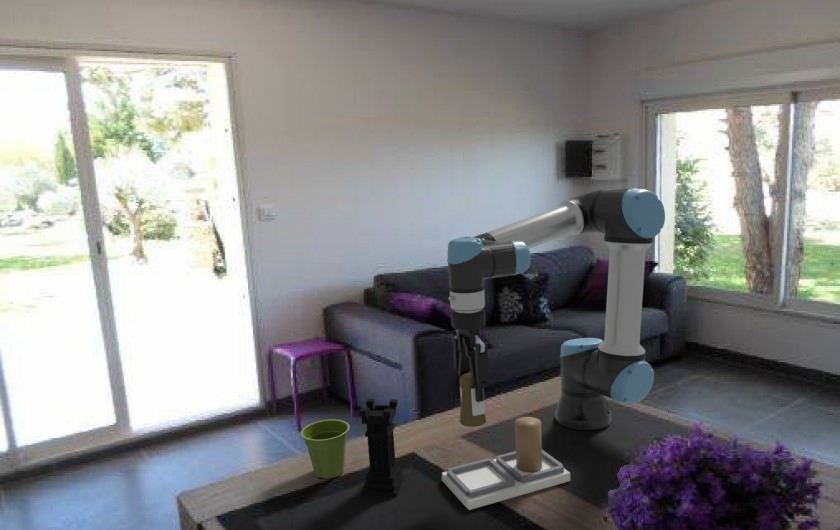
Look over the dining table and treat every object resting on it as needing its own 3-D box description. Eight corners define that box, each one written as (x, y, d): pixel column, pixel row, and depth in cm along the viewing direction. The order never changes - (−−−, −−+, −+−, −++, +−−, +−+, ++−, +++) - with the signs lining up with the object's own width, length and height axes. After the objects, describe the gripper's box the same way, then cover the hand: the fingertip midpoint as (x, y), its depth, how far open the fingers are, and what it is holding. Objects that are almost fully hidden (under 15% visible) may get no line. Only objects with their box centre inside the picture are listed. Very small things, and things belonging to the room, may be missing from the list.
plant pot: (333, 456, 160) (330, 415, 158) (362, 470, 151) (359, 427, 149) (295, 473, 151) (291, 430, 150) (323, 489, 143) (319, 444, 141)
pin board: (536, 455, 154) (535, 406, 151) (570, 480, 141) (569, 427, 139) (442, 480, 144) (439, 428, 142) (468, 510, 131) (466, 453, 129)
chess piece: (396, 496, 138) (391, 412, 135) (362, 494, 140) (356, 411, 137) (404, 478, 146) (399, 398, 143) (372, 476, 148) (366, 398, 144)
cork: (468, 429, 134) (465, 381, 133) (454, 419, 140) (452, 373, 138) (491, 422, 137) (489, 375, 135) (477, 413, 142) (475, 368, 140)
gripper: (435, 303, 141) (441, 399, 145) (470, 320, 124) (475, 428, 128) (465, 299, 144) (470, 393, 148) (503, 315, 127) (507, 420, 131)
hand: (472, 409), depth 138 cm, fingers closed on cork, 5 cm apart
